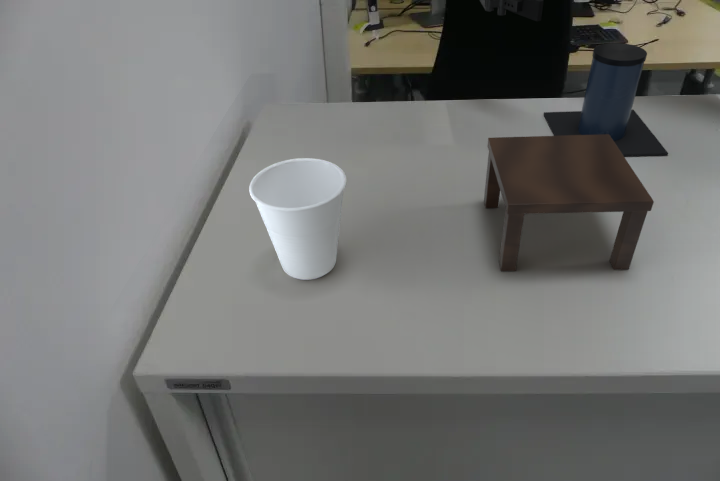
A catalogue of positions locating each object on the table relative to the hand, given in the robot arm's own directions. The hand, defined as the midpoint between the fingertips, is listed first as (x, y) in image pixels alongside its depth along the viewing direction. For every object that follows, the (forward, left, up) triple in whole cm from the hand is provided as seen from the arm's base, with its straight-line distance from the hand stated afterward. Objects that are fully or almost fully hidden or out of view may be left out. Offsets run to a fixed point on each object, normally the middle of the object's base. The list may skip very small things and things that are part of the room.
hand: (578, 2), depth 80 cm
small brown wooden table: (+9, +32, -17) cm, 37 cm away
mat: (-4, +8, -17) cm, 19 cm away
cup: (+37, +37, -17) cm, 55 cm away
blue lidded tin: (-4, +8, -16) cm, 19 cm away
